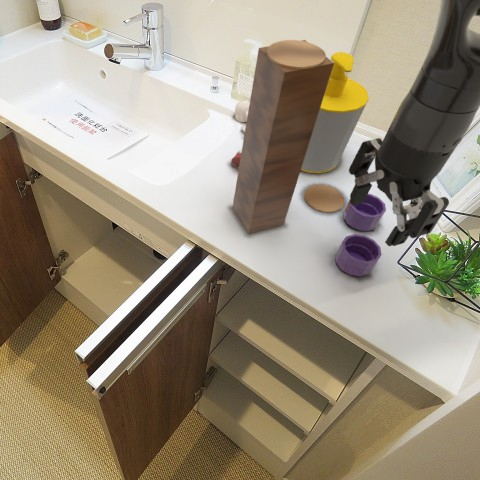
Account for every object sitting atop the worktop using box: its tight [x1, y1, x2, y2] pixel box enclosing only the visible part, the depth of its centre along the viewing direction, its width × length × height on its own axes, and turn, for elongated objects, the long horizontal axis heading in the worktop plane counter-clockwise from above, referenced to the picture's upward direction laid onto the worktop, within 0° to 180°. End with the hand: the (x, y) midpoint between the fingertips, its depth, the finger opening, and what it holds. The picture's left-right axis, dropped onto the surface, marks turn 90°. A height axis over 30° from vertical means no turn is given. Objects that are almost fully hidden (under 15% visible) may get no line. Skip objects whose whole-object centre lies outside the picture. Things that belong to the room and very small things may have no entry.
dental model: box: [230, 150, 242, 168], centre depth 84 cm, size 6×4×8 cm
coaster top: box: [267, 39, 327, 69], centre depth 53 cm, size 7×7×1 cm
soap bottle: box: [301, 51, 370, 174], centre depth 79 cm, size 13×13×21 cm
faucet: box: [234, 99, 250, 123], centre depth 91 cm, size 4×18×10 cm, turn 24°
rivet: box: [239, 125, 246, 133], centre depth 90 cm, size 10×2×2 cm, turn 24°
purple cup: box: [343, 193, 387, 232], centre depth 74 cm, size 6×6×4 cm
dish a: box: [334, 233, 383, 277], centre depth 67 cm, size 6×6×4 cm
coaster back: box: [303, 184, 345, 214], centre depth 79 cm, size 7×7×1 cm
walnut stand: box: [232, 39, 334, 235], centre depth 65 cm, size 7×7×30 cm
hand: (373, 222), depth 62 cm, fingers open, 8 cm apart
